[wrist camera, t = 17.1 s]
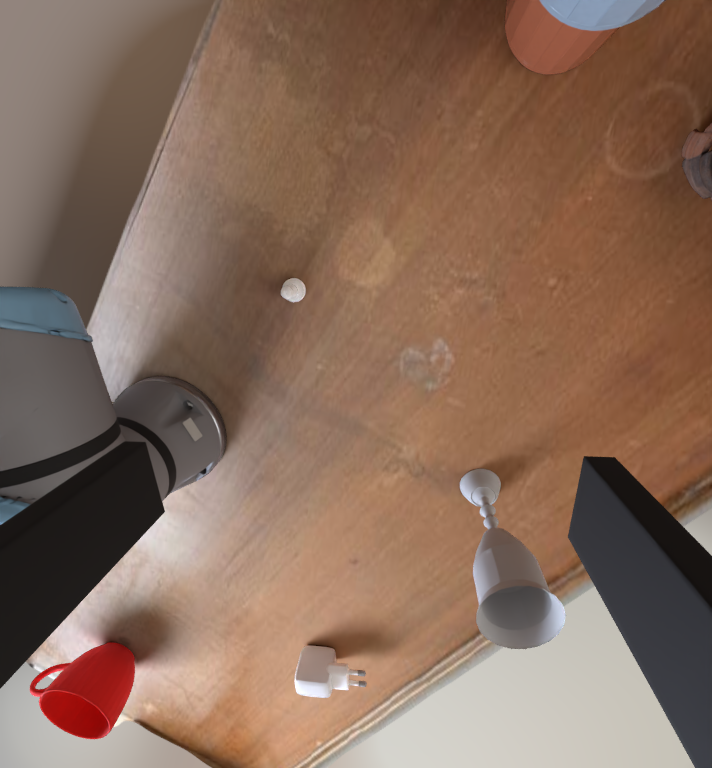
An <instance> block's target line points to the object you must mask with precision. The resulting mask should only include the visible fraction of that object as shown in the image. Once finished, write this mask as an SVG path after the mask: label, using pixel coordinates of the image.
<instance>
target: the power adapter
mask: <svg viewBox="0 0 712 768" xmlns="http://www.w3.org/2000/svg"><path fill="white" fill-rule="evenodd" d="M349 675H358V676H365V675H366V672H365V671H363V670H352V669H349V667H348V664H345V663H337V661H336V654H335V650H334V649H333V648H329V647H321V646H304V647H303V649H302V651H301V654H300V658H299V662H298V665H297V669H296V673H295V687H296V691H297V693H298V694H299V695H304V696H311V697H320V698H327V697H330V695H331V693H332V689H340V690H348V689H349V685H351V686H352V685H354V686H361V687H366V685H367V683H366V682H365V681H355V680H350V678H349V677H350V676H349Z"/></svg>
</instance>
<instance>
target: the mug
mask: <svg viewBox="0 0 712 768" xmlns="http://www.w3.org/2000/svg"><path fill="white" fill-rule="evenodd" d="M619 28H620V27H618V28H614V29H608V30H600V31H589V30H581V29H577V28H574V27H571V26H568V25H566V24H564V23H562V22H560V21H559V20H558V19H556V18H555V17H554V16H552V15H551V14H550V13H549V12H548V11H547V10H546V9H545V7H544V6H543V5H542V3H541V2H540V1H539V0H507V4H506V10H505V31H506V37H507V40H508V44H509V46H510V48H511V51H512V52H513V54H514V56H515V57H516V58H517V60H518V61H519V62H520V63H521V64H522V65H524V66H525V67H526V68H528V69H530V70H531V71H534V72H537V73H541V74H559V73H563V72H566V71H569V70H571V69H574V68H575V67H577V66H579V65H581V64H582V63H583V62H585V61H586V60H588V59H589V58H590V57H591V56H592V55H593V54H594V53H595V52H596V51H597V50H598V49H600V48H601V47H602V46H603V45H604V44H605V43H606V42H607V40H608V39H609V38H610V37H611V36H612V35H613V34H614V33H615V32H616V31H617V30H618V29H619Z"/></svg>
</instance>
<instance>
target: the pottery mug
mask: <svg viewBox="0 0 712 768" xmlns="http://www.w3.org/2000/svg"><path fill="white" fill-rule="evenodd" d="M711 145H712V123H711V124H710V125H709V126H708V127H707V128H706V130H705V131H704V132H699V131H698V130H697V129H695V130H693V131H692V132H691V133H690V134H689V135H688V137H687V139H686V141H685V144H684V146H683V148H682V157H684V158H685V159H684V161H683V163H682V167H683V169H684V172H685V175H686V177H687V179H688V181H689V183H690V185H691V186H692V188H693V189H694V190H695V191H696V192H697V193H698V194H699V195H700V196H701V197H702V198H704V199H706V198H708V197H710V198H711V200H712V151H709V149H710V147H711ZM708 151H709V152H708Z"/></svg>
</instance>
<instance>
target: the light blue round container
mask: <svg viewBox="0 0 712 768" xmlns="http://www.w3.org/2000/svg"><path fill="white" fill-rule="evenodd" d="M539 1H540V2H541V3H542V5H543V6H544V7H545V9H546V10H547V11H548V12H549V13H550V14H551V15H552V16H554V17H555V18H556V19H558V20H559V21H560V22H562V23H564V24H566V25H568V26H571V27H574V28H577V29H581V30H589V31H600V30H608V29H614V28H618V27H621V26H624V25H627V24H629V23H632V22H634V21H636V20H638V19H640V18H642V17H643V16H645V15H647V14H648V13H650V12H651V11H653V10H654V9H656V8H657V7H658V6H660V5H661V4H662V3H663V2H665V1H666V0H539Z"/></svg>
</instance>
